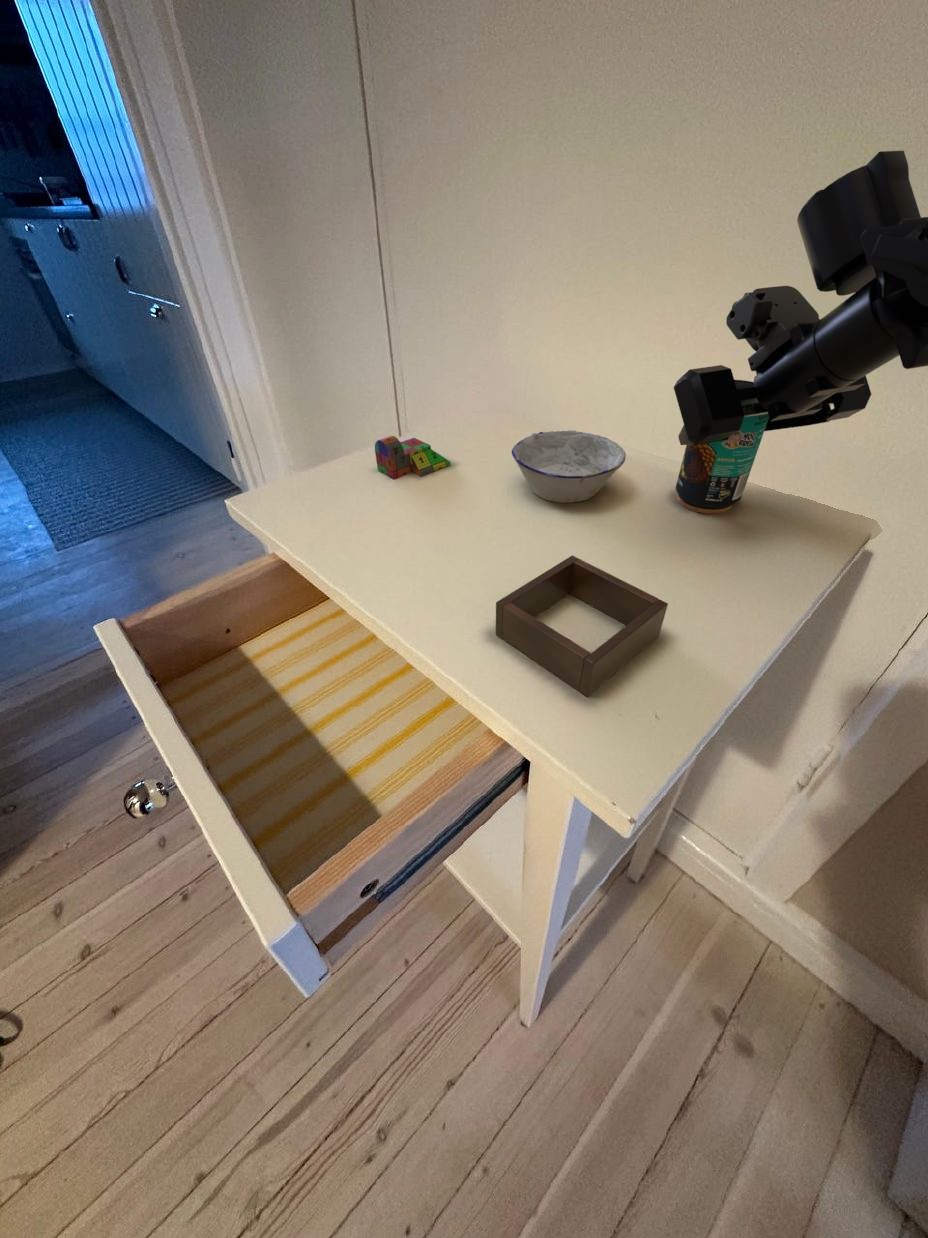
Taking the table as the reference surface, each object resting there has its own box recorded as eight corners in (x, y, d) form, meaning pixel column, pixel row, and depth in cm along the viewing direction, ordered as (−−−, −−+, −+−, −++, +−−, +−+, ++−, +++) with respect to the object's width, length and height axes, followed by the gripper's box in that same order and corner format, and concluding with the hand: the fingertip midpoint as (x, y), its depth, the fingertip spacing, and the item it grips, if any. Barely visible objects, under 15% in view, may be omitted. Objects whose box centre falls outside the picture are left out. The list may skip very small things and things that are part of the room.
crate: (659, 636, 44) (668, 603, 41) (587, 697, 39) (593, 664, 37) (568, 586, 49) (572, 555, 47) (495, 634, 44) (495, 602, 42)
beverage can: (671, 481, 63) (697, 376, 56) (733, 485, 62) (768, 378, 54) (677, 509, 58) (706, 398, 50) (744, 514, 57) (785, 400, 49)
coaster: (739, 497, 61) (740, 493, 61) (722, 518, 57) (724, 514, 57) (687, 484, 64) (688, 480, 64) (669, 504, 60) (670, 500, 60)
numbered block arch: (401, 483, 66) (397, 448, 63) (377, 470, 69) (372, 436, 67) (450, 464, 70) (448, 431, 67) (426, 452, 73) (423, 420, 70)
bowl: (489, 492, 64) (490, 454, 61) (547, 457, 71) (549, 421, 68) (584, 525, 57) (590, 484, 54) (636, 482, 65) (644, 443, 62)
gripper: (904, 244, 44) (764, 354, 60) (717, 261, 40) (618, 375, 55) (943, 368, 44) (791, 448, 59) (757, 398, 40) (646, 476, 55)
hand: (713, 434), depth 57 cm, fingers open, 8 cm apart
